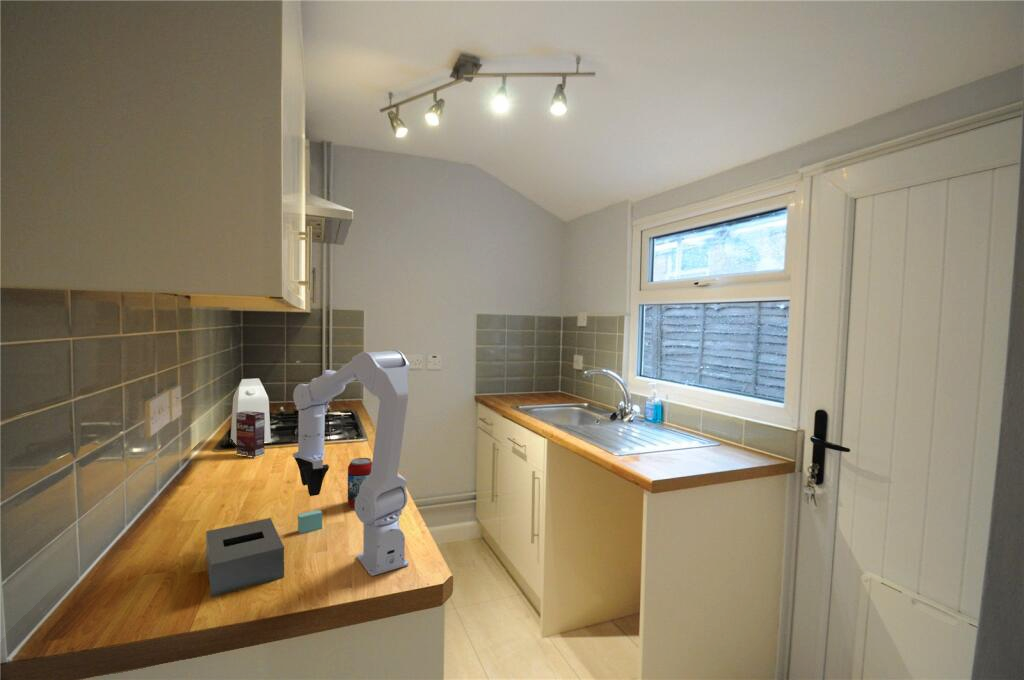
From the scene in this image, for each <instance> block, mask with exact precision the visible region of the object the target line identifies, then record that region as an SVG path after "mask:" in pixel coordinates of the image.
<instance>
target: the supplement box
mask: <svg viewBox="0 0 1024 680" xmlns="http://www.w3.org/2000/svg"><path fill="white" fill-rule="evenodd" d="M264 428H265V413H263V412H253V411H243V412H239V413H236V442H237V443H236V444H237V450H236V454H241V455H246V456H252V457H256V456H260V455H263V454H264V455H265V446H264V432H265V429H264ZM264 455H263V456H264Z"/></svg>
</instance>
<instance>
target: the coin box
mask: <svg viewBox="0 0 1024 680" xmlns="http://www.w3.org/2000/svg"><path fill="white" fill-rule="evenodd" d="M205 532H206V533H205V541H206V542H205V544H206V545H205V553H206V554H205V555H206V556H205V559H206V560H207V561H206V567H207V568H208V569H207V575H209V576H208V580H209V581H208V583H210V584H209V591H211V592H210V598H213V597H217V596H218V597H219V596H222V595H225V594H227V593H231V592H235V590H236V591H239V589H240V590H243V589H246V588H245V587H247V588H249V586H250V587H254V586H258V585H260V584H264V582H265V583H268V582H271V581H275V580H279V579H283V578H285V546H284V545H283V542H282V540H281V538H280V537H281V536H280V535H279V534H278V531H277V529H276V527H275V525H274V523H273V521H272V518H271V517H269V518H263V519H259V520H254V521H249V522H245V523H241V524H234V525H230V526H226V527H221V528H216V529H212V530H206V531H205ZM253 585H254V586H253ZM242 588H243V589H242Z"/></svg>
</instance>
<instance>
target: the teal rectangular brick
mask: <svg viewBox="0 0 1024 680" xmlns="http://www.w3.org/2000/svg"><path fill="white" fill-rule="evenodd" d="M322 529H323V512H322V511H321V509H318V510H312V511H307V512H304V513H299V514H298V515H297V531H298V533H299V535H301V534H305V533H309V532H313V531H317V530H322Z"/></svg>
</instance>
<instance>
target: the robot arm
mask: <svg viewBox="0 0 1024 680" xmlns="http://www.w3.org/2000/svg"><path fill="white" fill-rule="evenodd" d="M410 367H411V364H410V362H409V361H408V360H407V358H406V356H405V354H404V353H403V352H402V351H400V350H397V349H394V350H388V351H371V352H369V351H368V352H367V351H362V352H359V353H358V354H356V355H353V356H352V359H351V360H350V361H349V362H348V363H347V364H345V365H344V366H342V367H341V368H340V369H339V370H331V369H324V370H323V371H322V372H321V373H322V374H321V375H320V376H318V377H314V378H312V379H311V381H310V382H308V383H299V384H297V386H295V388H294V390H293V395H292V396H293V402H294V405H295V407H296V408H298V425H297V426H298V427H297V428H298V437H297V438H298V440H297V441H298V442H297V443H298V445H297V452H292V457H293V459H294V460H295V462H296V464H297V467H298V471H299V474H300V480H301V484H302V486H307V492H308V494H309V497H314V496H320V494H321V490H322V485H323V482H324V478H325V477H326V474H327V472H328V470H329V468H330V466H329V464H328V463H327V464H324V457H325V455H326V450H325V430H326V429H325V426H326V425H325V424H326V423H325V422H326V421H325V419H326V418H325V417H326V413H327V412H328V405H329V403H330V401H331V400H332V399H333V398H335V397H336V396H339V395H340V394H342V393H343V392H344V391H345V389H346V385H347V384H349V383H352V382H354V381H356V380H357V381H358V382H359V383H360V384H361V385H362V386H363V387H365V389H366V390H367V391H368V392H369V393H370V394H371V395H372V396H375V397H377V399H378V401H379V404H378V405H379V406H378V414H377V423H376V429H375V437H374V445H373V452H372V453H373V454H372V459H371V462H372V467H371V473H370V474H369V476H368V477H367V478H366V479H365V480H364V481H363V482H362V484H361V485H360V490H359V493H358V495H357V497H356V499H355V507H354V512H355V515H356V517H357V518H358V520H360V522H361V523H363V534H362V535H363V538H362V539H363V545H362V546H363V547H362V548H363V549H362V550H363V551H362V552H360V553H357V554H356V558H357V559H358V560H359V562H360V563H361V564H362V565H363V567H364V569H365V570H366V571H367V572H368V574H369V575H370V576H372V577H373V576H377V575H380V574H383V573H386V572H389V571H390V572H391V571H393V570H396V569H399V568H402V567H406V566H408V565H409V564H410V562H409V561H408V560H407V559H406V558H405V554H406V553H405V548H406V547H405V546H406V544H405V543H406V539H405V534H404V532H403V530H402V529H401V527H400V517H401V516H402V513H403V512H402V510H403V509H404V508H405V507H406V506H407V503H408V494H407V480H406V478H405V477H404V476H403V475H401V474H399V468H400V467H399V466H400V461H401V460H400V459H401V454H402V446H403V438H404V430H405V424H406V423H405V422H406V417H407V415H406V414H407V407H408V401H409V387H408V385H409V384H408V380H409V372H410Z"/></svg>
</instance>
